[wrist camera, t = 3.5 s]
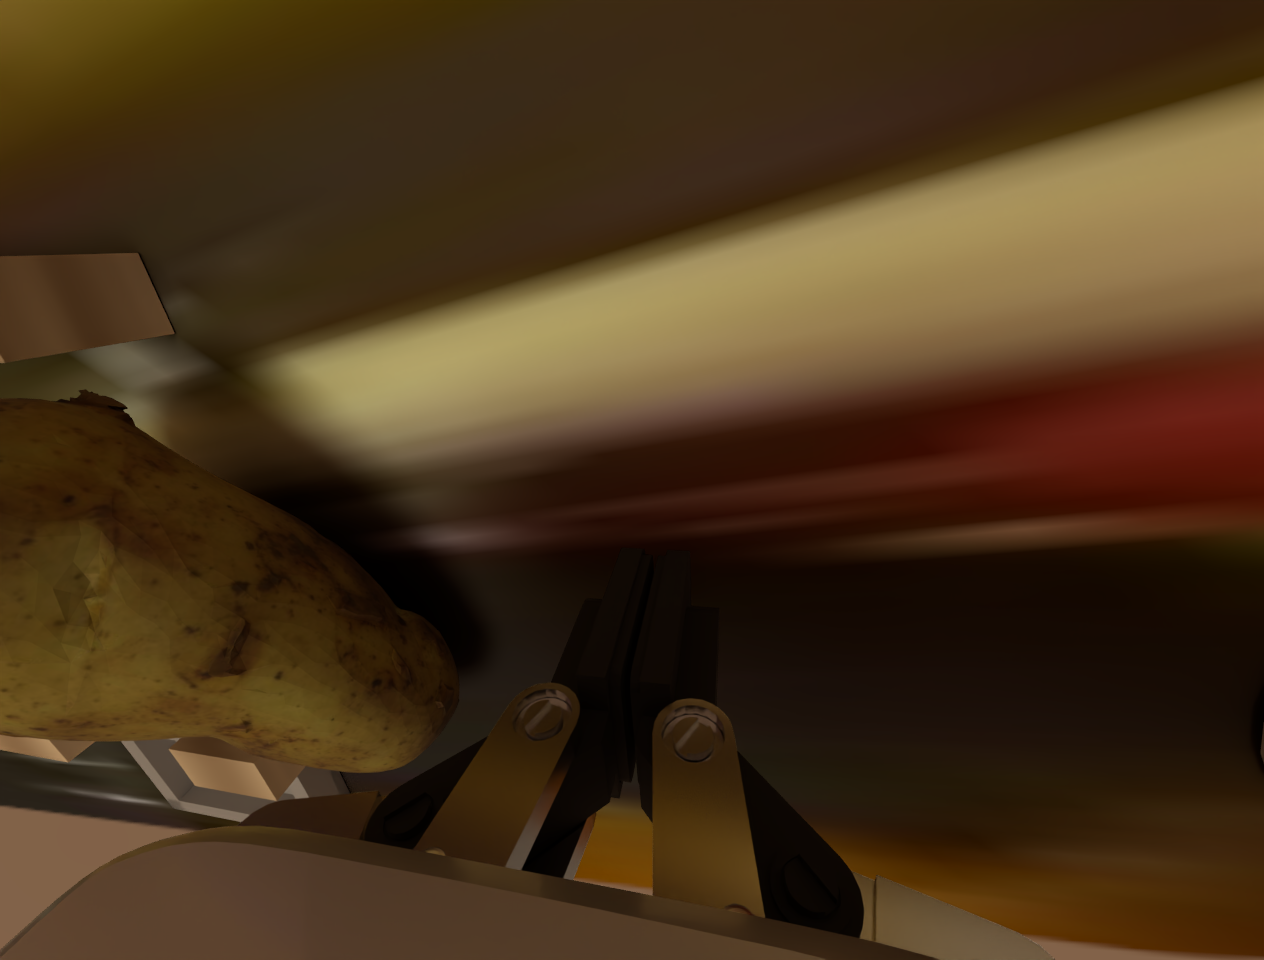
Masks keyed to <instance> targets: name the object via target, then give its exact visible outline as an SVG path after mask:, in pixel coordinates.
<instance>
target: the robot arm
mask: <svg viewBox="0 0 1264 960" xmlns="http://www.w3.org/2000/svg"><path fill="white" fill-rule="evenodd" d="M718 645H719V608H709V607H696V606H691V571H690V551H676V550H667V553H666V556H658V559H657V563H656V568H655V572H654V568H653V556H652V555H645V550H644V549H638V548H621V550H620V553H619V556H618V559H617V561H616V564H615V567H614V570H613V573H612V575H611V578H610V581H609V584H608V586H607V589H606V592H605V595H604V597H603V599H589V598H588V599H586V600H585V602H584V604H583V606H582V608H581V611H580V613H579V615H578V618H577V620H576V623H575V625H574V628H573V630H572V632H571V635H570V637H569V640H568V642H567V645H566V647H565V650H564V652H563V654H562V657H561V659H560V662H559V664H558V667H557V669H556V671H555V674H554V676H553V679H552V681H551V683H543V684H537V685H535V686H532V687H530V688H527V689H526V690H524V691H523V692H521V693H520V694H518V695H517V696H516V697H515V698H514V700H513V701H512V702H511V703H510V704H509V706H508V707H507V709H506V710H505V712H504V713H503V715H502V716H501V718H500V719H499V721H498V722H497V724H496V725H495V727H494V728H493V730H492V731H491V733H490V734H489V736H488V737H486V738H484V739H482V740H480V741H479V742H477V743H475V744H473V745H472V746H470V747H468V748H466V749H465V750H463V751H461V752H459V753H457V754H456V755H454V756H452V757H450V758H449V759H447V760H445V761H443V762H442V763H440V764H438V765H436V766H435V767H433V768H431V769H429V770H427V771H426V772H424V773H422V774H420V775H419V776H417V777H415V778H413V779H412V780H410V781H408V782H406V783H405V784H403V785H401V786H400V787H398V788H397V789H395V790H394V791H393V792H391V793H390V794H389V795H388V796H381V795H380V793H379V791H371V792H361V793H350V794H340V795H330V796H319V797H309V798H298V799H288V800H281V801H277V802H273V803H270V804H267V805H265V806H264V807H262V808H260V809H258V810H256V811H255V812H253V813H252V814H250V815H249V816H248V817H247V818H246V819H245V820H243V821H242V822H241V823H240V824H239V825H238V826H229V827H219V828H211V829H205V830H200V831H194V832H190V833H186V834H182V835H178V836H174V837H170V838H166V839H163V840H159V841H157V842H154V843H151V844H148V845H145V846H142V847H140V848H138V849H135V850H133V851H130V852H128V853H125V854H123V855H121V856H119V857H117V858H115V859H113V860H111V861H110V862H108V863H106V864H104V865H103V866H101V867H99V868H98V869H96V870H95V871H94V872H92V873H90V874H89V875H88V876H86V877H85V878H83V879H82V880H81V881H79V882H78V883H77V884H76V885H74V886H73V887H72V888H71V889H69V890H68V891H67V892H65V893H64V894H63V895H62V896H61V897H59V898H58V899H57V900H56V901H54V902H53V903H52V904H51V905H50V906H49V907H47V909H45V910H44V911H43V912H42V913H40V914H39V915H38V916H37V917H36V918H35V919H34V920H33V921H32V922H31V923H29V924H28V925H27V926H26V927H25V928H24V929H23V930H22V931H20V932H19V933H18V934H17V935H16V936H15V937H14V938H13V939H12V940H10V941H9V942H8V943H7V944H6V945H5V946H4V947H3V948H2V949H1V950H0V960H1055V959H1054V958H1053V957H1052V956H1051V955H1050V954H1049V953H1048V952H1047V951H1045V950H1044V949H1043V948H1042V947H1041V946H1040V945H1038V944H1036V943H1035V942H1033V941H1031V940H1030V939H1028V938H1026V937H1024V936H1023V935H1021V934H1019V933H1017V932H1015V931H1012V930H1010V929H1008V928H1005V927H1003V926H1000V925H998V924H995V923H993V922H990V921H988V920H986V919H983V918H981V917H978V916H976V915H973V914H971V913H968V912H966V911H964V910H961V909H959V908H956V907H954V906H951V905H949V904H947V903H944V902H942V901H939V900H937V899H934V898H932V897H929V896H927V895H925V894H922V893H920V892H917V891H915V890H912V889H910V888H908V887H905V886H903V885H900V884H898V883H895V882H893V881H890V880H888V879H886V878H883V877H881V876H878V875H876V879H875V881H874V880H872V879H869V878H867V877H864V876H862V875H860V874H857V873H855V872H852V871H851V870H850V869H849V868H848V866H847V865H846V864H845V862H844V861H843V860H842V859H841V857H840V856H839V855H838V854H837V853H836V852H835V851H834V850H833V849H832V848H831V847H830V846H829V845H828V844H827V843H826V842H825V841H824V840H823V839H822V838H821V837H820V836H819V835H818V834H817V833H816V831H815V830H814V829H813V828H812V827H811V826H810V825H809V824H808V823H807V822H806V821H805V820H804V819H803V818H802V817H801V816H800V815H799V814H798V813H797V812H796V811H795V810H794V809H793V808H792V807H791V806H790V805H789V804H788V803H787V802H786V801H785V800H784V798H783V797H782V796H781V795H780V794H779V793H778V792H777V791H776V790H775V789H774V788H773V787H772V786H771V785H770V784H769V783H768V782H767V781H766V780H765V779H764V778H763V777H762V776H761V775H760V774H759V773H758V772H757V771H756V770H755V769H754V768H753V767H752V765H751V764H750V763H749V762H748V761H747V760H746V759H745V758H744V757H743V756H742V755H741V754H740V753H739V752H738V751H737V748H736V742H735V736H734V731H733V728H732V725H731V722H730V720H729V719H728V718H727V716H726V715H725V714H724V712H723V711H722V710H720V709H719V708H718V707H716V702H717V676H718ZM1261 756H1262V759H1263V763H1264V724H1263V734H1262V744H1261ZM635 763H637V775H638V783H639V785H640V796H641V807H642V809H643V810H644V812H645V813H646V814H647V816H648V817H649V819H650V820H651V822H652V823H653V896H651V895H646V894H641V893H636V892H631V891H626V890H621V889H616V888H610V887H605V886H600V885H595V884H590V883H585V882H579V881H574V880H573V879H574V876H575V874H576V871H577V868H578V866H579V863H580V861H581V858H582V855H583V853H584V850H585V848H586V845H587V842H588V840H589V837H590V834H591V832H592V829H593V827H594V822H595V818H596V812H597V811H598V810H599V809H601V808H602V807H604V806H605V805H606V804H608V803H609V802H610V798H611V797H614V798H620V793H621V788H622V784H623V781H625V782H631V781H632V778H633V773H634V768H635Z"/></svg>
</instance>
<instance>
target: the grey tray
mask: <svg viewBox="0 0 1264 960" xmlns="http://www.w3.org/2000/svg"><path fill="white" fill-rule="evenodd" d="M179 739H180V738H172V739H161V740H142V741H121V742H122V743H123V744H124V746H125V747H126V748H127V749H128V751H129V752H130V753H131V755H132V756H133V757H134V758H135V760H136V761H137V762H138V764H139V765H140V766H141V767H142V769H143V770H144V771H145V773H146V774H147V775H148V776H149V778H150V779H151V780H152V782H153V783H154V784H155V785H156V787H157V788H158V789H159V791H160V792H161V793H162V794H163V796H164V797H165V798H166V800H167V801H168V802H169V803H170V805H171V806H172V807H173V808H174V809H179V810H184V811H189V812H194V813H199V814H204V815H209V816H214V817H219V818H224V819H229V820H234V821H239V822H242V821H243V820H245V819H246V818H247V817H248V816H249V815H250V814H252V813H253V812H255V811H256V810H258V809H260V808H262V807H264V806H265V805H267V804H270V803H273V802H277V801H274V800H268V799H263V798H258V797H252V796H247V795H241V794H236V793H231V792H225V791H220V790H215V789H209V788H204V787H198V786H195V785H194V784H193V782H192V781H191V780H190V778H189V777H188V775H187V774H186V773H185V771H184V770H183V768H182V767H181V766H180V764H179V763H178V762H177V760H176V759H175V757H174V756H173V755H172V753H171V752H170V751H169V748H170V747H171V746H172V745H173V744H175V743H176V742H177V741H178V740H179ZM340 794H350V792H349V790H348V788H347V786H346V784H345V782H344V780H343V778H342V776H341V774H340V772H339V771H334V770H326V769H318V768H312V767H307V766H305V768H304V769H303V770H302V771H301V772H300V774H299V775H298V776H297V777H296V779H295V780H294V781H293V782H292V783H291V785H290V786H289V787H288V788H287V790H286V791H285V792H284V793H283V795H282V796H281V797H280V798H279V799H278V801H281V800H288V799H298V798H309V797H319V796H330V795H340Z"/></svg>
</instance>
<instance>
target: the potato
mask: <svg viewBox="0 0 1264 960" xmlns="http://www.w3.org/2000/svg"><path fill="white" fill-rule="evenodd" d="M79 392H80V393H81V395H80V396H79V397H77V398H71V397H70V401H68V400H63V399H60V400H58V401H56V402H55V401H47V400H41V399H23V398H18V399H0V735H5V736H11V737H28V738H37V739H46V740H66V741H142V740H161V739H172V738H183V737H205V736H210V737H214V738H218V739H221V740H223V741H225V742H227V743H229V744H231V745H233V746H235V747H237V748H238V749H240V750H242V751H244V752H246V753H248V754H250V755H253V756H257V757H261V758H265V759H269V760H274V761H279V762H285V763H290V764H296V765H301V766H307V767H312V768H318V769H326V770H334V771H341V772H351V773H369V772H381V771H386V770H392V769H396V768H399V767H402V766H404V765H406V764H407V763H409V762H411V761H412V760H414V759H415V758H416V757H417V756H418V755H420V754H421V753H422V752H423V751H424V750H425V749H427V748H428V747H429V746H430V745H431V743H432V742H433V741H434V740H435V739H436V738H437V737H438V736H439V735H440V734H441V732H442V731H443V729H444V728H445V727H446V725H447V724H448V722H449V720H450V719H451V717H452V715H453V714H454V712H455V709H456V707H457V705H458V702H459V677H458V673H457V669H456V665H455V662H454V659H453V656H452V654H451V652H450V650H449V648H448V646H447V644H446V642H445V640H444V639H443V637H442V635H441V633H440V632H439V631H438V630H437V629H436V628H435V627H434V626H433V625H432V624H431V623H430V622H428V621H427V620H426V619H425V618H423V617H422V616H420V615H418V614H416V613H414V612H411V611H406V610H402V609H399V608H398V607H397V606H396V605H395V604H394V603H393V601H392V600H391V599H390V597H389V596H388V594H387V593H386V592H385V591H384V590H383V588H382V587H381V586H380V585H379V584H378V583H377V582H376V581H375V580H374V579H373V578H372V577H371V576H370V574H369V573H367V572H366V571H365V570H364V569H363V568H362V567H361V566H360V565H359V564H358V563H357V562H356V561H355V560H354V558H353V557H352V556H351V554H348V553H347V552H346V551H345V550H343V549H342V548H341V547H340V546H338V545H337V544H336V543H334V542H333V541H331V540H329V539H327V538H325V537H323V536H322V535H321V534H319V533H318V532H317V531H316V530H314V529H313V528H312V527H311V526H310V525H308V524H307V523H305V522H303V521H301V520H300V519H298V518H297V517H295V516H293V515H291V514H289V513H287V512H285V511H283V510H282V509H280V508H278V507H276V506H274V505H272V504H270V503H268V502H266V501H264V500H262V499H260V498H258V497H256V496H254V495H252V494H250V493H248V492H246V491H244V490H242V489H240V488H238V487H236V486H234V485H232V484H230V483H228V482H226V481H224V480H222V479H221V478H219V477H217V476H215V475H213V474H211V473H210V472H208V471H206V470H204V469H202V468H201V467H199V466H197V465H195V464H193V463H192V462H190V461H188V460H187V459H185V458H183V457H182V456H180V455H178V454H177V453H175V452H174V451H172V450H171V449H169V448H167V447H166V446H164V445H163V444H161V443H160V442H158V441H157V440H155V439H154V438H152V437H151V436H149V435H148V434H146V433H145V432H143V431H142V430H140V429H139V428H137V427H136V426H135V424H134V422H133V419H132V418H131V417H130V416H129V414H127V413H125V412H124V411H123V410H124V409H127V407H126V406H125V405H124V404H122V403H120V402H118V401H116V400H114V399H112V398H110V397H107V396H99V395H98V394H95V393H93V392H88V391H87V390H79Z"/></svg>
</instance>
